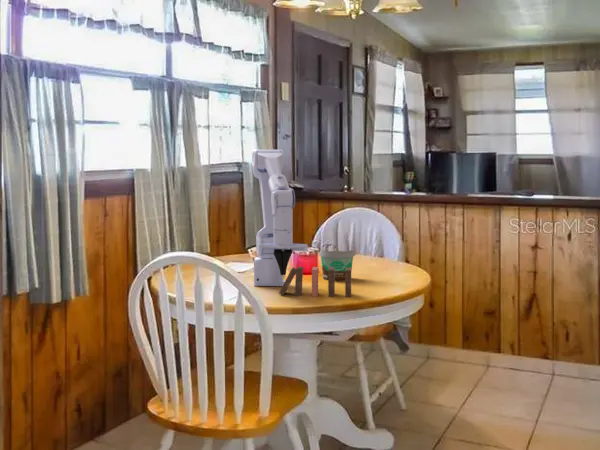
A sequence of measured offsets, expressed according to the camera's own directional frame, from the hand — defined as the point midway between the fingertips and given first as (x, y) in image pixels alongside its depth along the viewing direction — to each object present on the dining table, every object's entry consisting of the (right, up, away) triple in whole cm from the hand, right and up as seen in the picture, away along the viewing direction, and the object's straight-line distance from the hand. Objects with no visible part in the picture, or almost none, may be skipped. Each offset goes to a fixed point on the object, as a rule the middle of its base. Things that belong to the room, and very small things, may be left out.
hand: (283, 274), depth 213 cm
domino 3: (+10, -6, 0) cm, 11 cm away
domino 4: (+15, -6, -1) cm, 16 cm away
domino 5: (+20, -6, -1) cm, 20 cm away
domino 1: (0, -6, +1) cm, 6 cm away
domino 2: (+5, -6, 0) cm, 7 cm away
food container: (+18, -4, +24) cm, 30 cm away
